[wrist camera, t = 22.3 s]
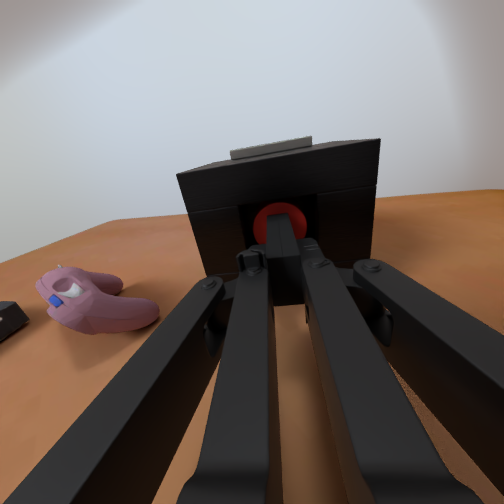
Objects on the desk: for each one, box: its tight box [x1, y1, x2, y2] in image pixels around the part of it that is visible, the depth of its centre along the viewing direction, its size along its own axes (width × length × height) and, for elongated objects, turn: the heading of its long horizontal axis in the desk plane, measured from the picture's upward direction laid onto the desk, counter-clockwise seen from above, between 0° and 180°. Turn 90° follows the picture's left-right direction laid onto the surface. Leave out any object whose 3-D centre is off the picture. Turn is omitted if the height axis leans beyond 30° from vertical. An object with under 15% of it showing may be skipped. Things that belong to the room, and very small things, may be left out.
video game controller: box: [36, 265, 160, 335], centre depth 18 cm, size 10×5×7 cm, turn 49°
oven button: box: [253, 198, 307, 244], centre depth 17 cm, size 4×3×4 cm, turn 85°
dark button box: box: [176, 136, 381, 303], centre depth 19 cm, size 12×10×12 cm
